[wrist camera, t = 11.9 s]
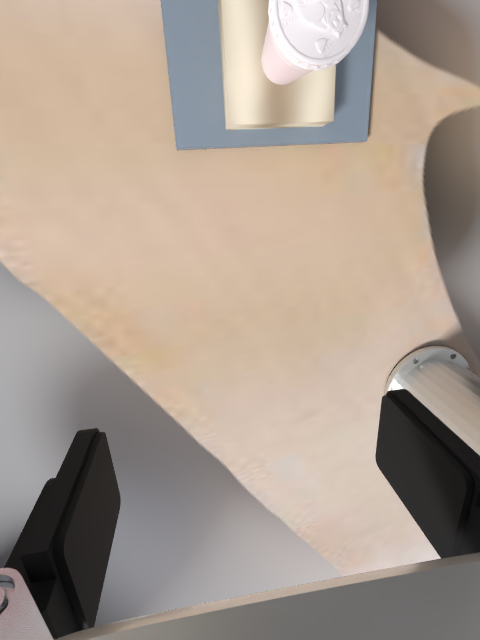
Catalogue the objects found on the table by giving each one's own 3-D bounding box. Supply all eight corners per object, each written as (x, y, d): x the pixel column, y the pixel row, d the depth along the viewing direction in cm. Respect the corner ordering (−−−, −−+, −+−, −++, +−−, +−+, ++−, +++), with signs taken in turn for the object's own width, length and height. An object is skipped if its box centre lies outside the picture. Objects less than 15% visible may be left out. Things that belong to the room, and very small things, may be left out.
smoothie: (280, -6, 29) (358, -171, 16) (331, 58, 31) (437, -41, 18) (230, 61, 30) (264, -41, 17) (283, 119, 32) (349, 67, 19)
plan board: (372, -11, 33) (378, -17, 32) (362, 142, 37) (367, 140, 36) (159, -13, 30) (158, -19, 30) (176, 150, 35) (176, 149, 34)
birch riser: (325, 3, 32) (338, -15, 29) (322, 126, 35) (333, 120, 32) (217, 3, 31) (220, -16, 28) (225, 130, 34) (228, 124, 31)
